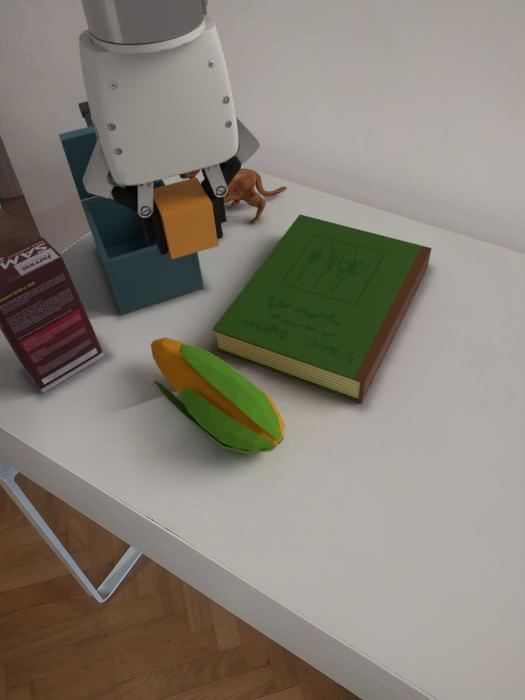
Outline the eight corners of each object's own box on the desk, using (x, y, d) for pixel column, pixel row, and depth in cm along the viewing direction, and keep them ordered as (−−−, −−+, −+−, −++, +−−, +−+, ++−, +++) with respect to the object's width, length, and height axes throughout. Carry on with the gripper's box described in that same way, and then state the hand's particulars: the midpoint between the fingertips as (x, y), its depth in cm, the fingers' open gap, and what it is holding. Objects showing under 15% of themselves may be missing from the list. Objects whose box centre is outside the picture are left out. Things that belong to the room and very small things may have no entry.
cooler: (203, 288, 77) (194, 236, 71) (121, 315, 75) (103, 263, 68) (172, 229, 86) (161, 178, 80) (98, 252, 84) (80, 201, 77)
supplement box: (86, 336, 72) (43, 234, 61) (106, 357, 70) (65, 255, 58) (23, 372, 69) (-36, 271, 57) (41, 396, 66) (-17, 296, 55)
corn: (248, 443, 52) (117, 335, 61) (250, 487, 57) (129, 381, 67) (302, 397, 55) (170, 302, 65) (299, 443, 61) (178, 348, 71)
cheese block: (171, 259, 49) (161, 216, 45) (158, 232, 51) (148, 189, 48) (218, 246, 50) (212, 202, 46) (203, 219, 52) (196, 176, 49)
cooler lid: (162, 115, 64) (147, 76, 65) (60, 140, 62) (46, 99, 62) (162, 178, 79) (150, 146, 80) (80, 200, 77) (68, 167, 77)
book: (362, 403, 63) (364, 382, 60) (215, 350, 70) (212, 329, 67) (428, 266, 77) (433, 244, 75) (302, 232, 84) (302, 211, 81)
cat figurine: (274, 185, 92) (270, 101, 82) (300, 203, 89) (299, 118, 78) (179, 231, 86) (161, 146, 76) (202, 252, 82) (188, 166, 72)
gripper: (246, -32, 41) (260, 191, 54) (4, 13, 37) (85, 239, 51) (288, -1, 36) (292, 235, 50) (16, 55, 33) (101, 292, 46)
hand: (187, 235), depth 50 cm, fingers closed on cheese block, 4 cm apart
